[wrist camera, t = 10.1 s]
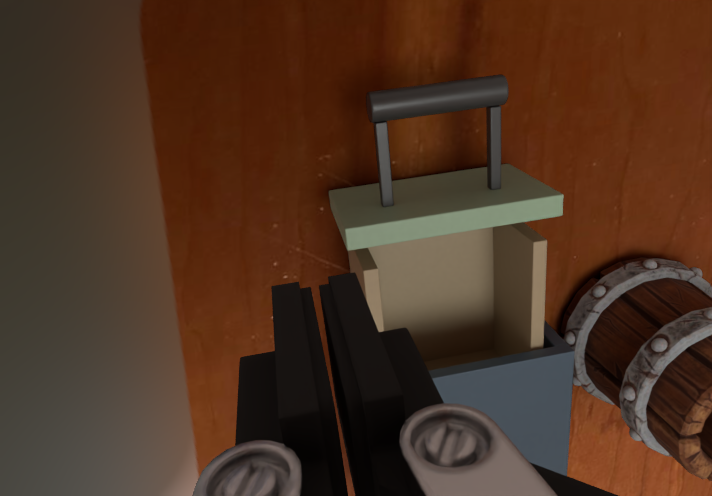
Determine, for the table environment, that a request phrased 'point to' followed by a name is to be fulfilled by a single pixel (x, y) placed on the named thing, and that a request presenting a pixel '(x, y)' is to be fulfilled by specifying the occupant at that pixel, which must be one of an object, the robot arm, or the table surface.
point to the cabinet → (521, 397)
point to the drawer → (450, 237)
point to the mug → (649, 353)
